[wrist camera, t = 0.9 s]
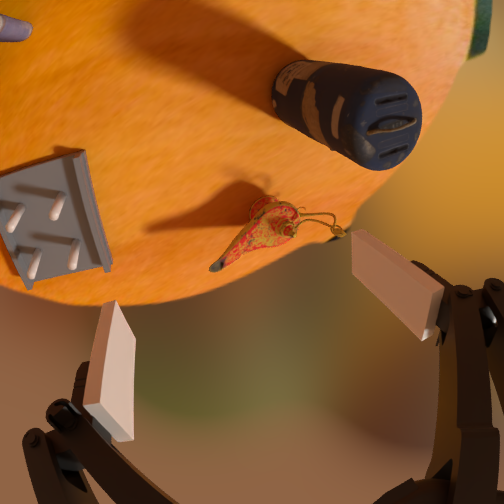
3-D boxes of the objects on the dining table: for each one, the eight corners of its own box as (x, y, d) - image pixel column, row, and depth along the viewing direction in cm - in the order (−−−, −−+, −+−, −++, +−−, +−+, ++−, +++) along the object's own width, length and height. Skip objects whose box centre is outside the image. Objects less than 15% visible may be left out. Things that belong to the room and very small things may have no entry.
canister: (328, 126, 39) (424, 177, 26) (266, 129, 36) (353, 185, 23) (332, 61, 33) (441, 85, 20) (266, 57, 31) (367, 68, 17)
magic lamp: (189, 222, 40) (208, 274, 32) (306, 173, 43) (351, 209, 34) (205, 258, 45) (227, 311, 37) (312, 211, 47) (352, 251, 39)
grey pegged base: (-11, 179, 25) (-29, 201, 21) (85, 149, 30) (76, 166, 25) (29, 278, 35) (21, 307, 31) (112, 259, 39) (112, 288, 35)
